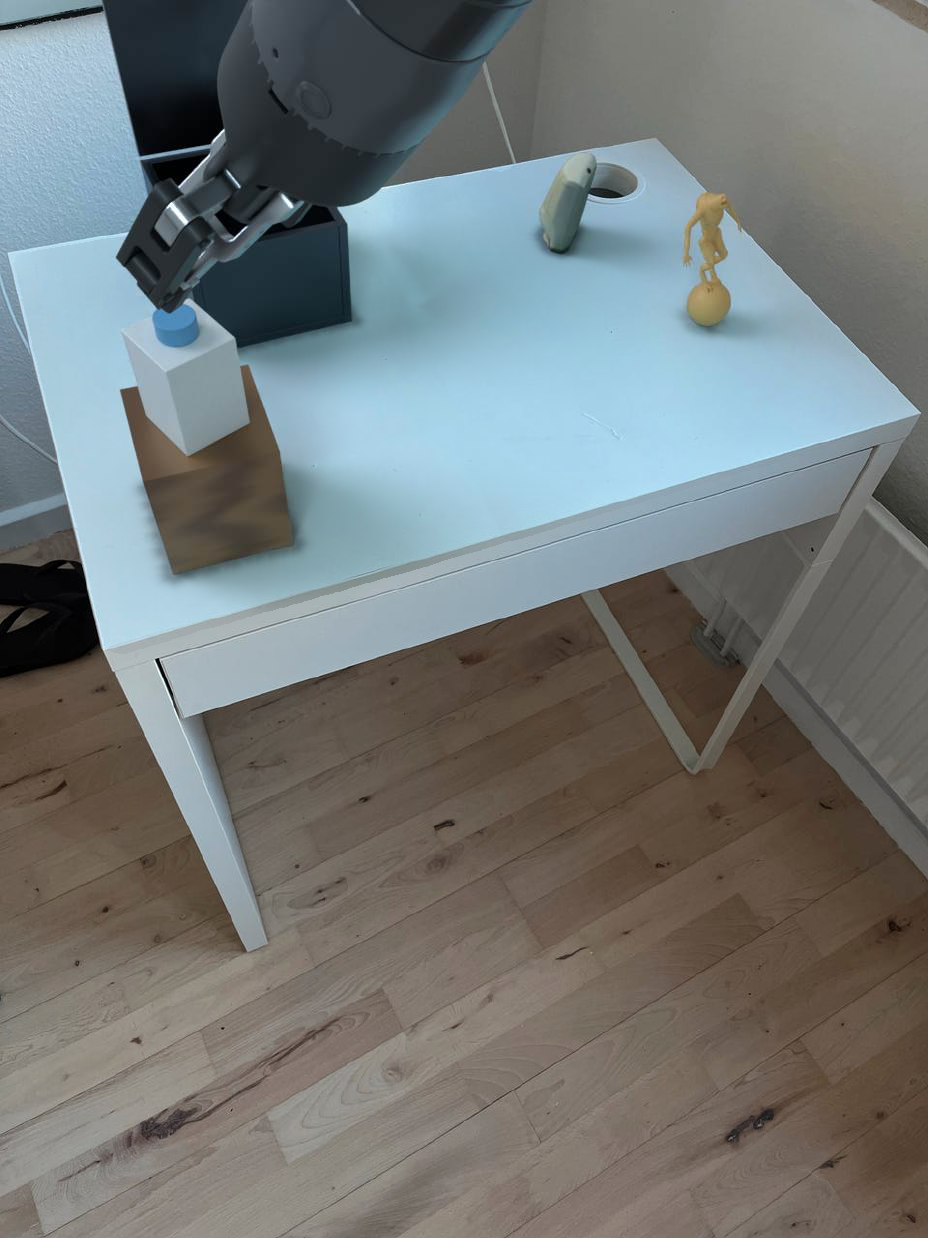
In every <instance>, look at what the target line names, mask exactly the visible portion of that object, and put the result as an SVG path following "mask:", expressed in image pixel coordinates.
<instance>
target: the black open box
mask: <svg viewBox="0 0 928 1238" xmlns="http://www.w3.org/2000/svg"><path fill="white" fill-rule="evenodd" d="M209 153H210V147H208V148H203V149H196V150H191V151H186V152H179V153H174V154H167V155H163V156H156V157H151V158H145V159H140V160H139V163H140V168H141V172H142V175H143V180H144V185H145V189H146V193H147V196H148V195H149V194H150V192H151V191H152V188H153V186H154V185H155V184H157V183H158V182H160V181H162V182H163V181H164V180H166V179H169V178H171V179H172V180H173V181H174V182H175V184H176V185H177V186H178V187H179V186H180V185H181V184H182V182H183V181H184V180H185V179H186V178H187V177H188V176H189V175H190V174H191V173H192V172H193V171H194V170H195V169H196V168H197V167H198V166H199V165H200V163H201V162H202V161H203V160H204V159H205V158H206V157H207V156H208V155H209ZM223 209H224V208H222V209H221V210H219V211H218V212H217V213H216V214H215V216H216V218H217V219H218V220H219V221H220V222H221V224H222V225H223V226H224V227H225V229H226V230H227V231H228V232H229V233H230V234H231V235H232V236H234V237H235V236H237V235H238V234H239V233H240V232H241V231H242V230H243V229H244V228H245V227H246V226H247V225H248V224H244V223H241V222H239V221H237V220H236V219H234V218H233V217H231V216H230V215H229V214H227V213H226V212H225V211H224V210H223ZM348 226H349V225H348V223H347V221H346V219H345V218H344V216H343V214H342V213H341V212H340V210H339V207H324V206H318V205H312V206H311V208H310V209H309V210H308V211H307V213H306V214H305V215H304V216H303V218H302V219H301V220H300V221H299V222H298V223H296V224H295V225H294V226H292V227H291V228H287V227H285V226H284V225H283V224H282V223H281V222H280V223H276V224H273V225H272V226H271V227H270V228H269V229H268V230H267V231H266V232H265V233H264V234H263V235H262V236H260V237H259V238H258V239H257V240H256V241H255V242H254V243H253V244H252V245H251V246H250V247H249V248H248V249H247V250H246V251H245V252H244V253H243V254H242V255H241V256H240V257H238V258H236V259H233V260H230V261H227V262H220V261H217V262H216V263H215V264H214V265H213V266H212V267H211V268H210V269H209V270H208V271H207V272H206V273H205V274H204V275H203V276H202V277H201V278H200V279H199V280H200V282H199V283H198V284H197V285H196V286H194V288H193V289H192V291H191V292H190V294H189V295H188V297H187V298H186V299H189V298H190V299H191V300H192V301H194V302H195V303H196V304H197V305H198V306H199V307H200V308H202V309H203V310H204V311H205V312H206V313H207V314H208V315H210V316H211V317H212V318H213V319H214V320H215V321H216V322H217V323H219V324H220V325H221V326H222V327H223V328H224V329H225V330H227V331H228V332H229V333H230V334H231V335H232V336H233V337H235V340H236V345H237V349H240V348H244V347H248V346H249V347H250V346H253V345H257V344H261V343H265V342H269V341H274V340H278V339H282V338H286V337H290V336H295V335H299V334H304V333H307V332H312V331H316V330H319V329H320V330H321V329H324V328H328V327H333V326H337V325H340V324H345V323H350V322H352V321H353V315H352V293H351V291H352V290H351V271H350V250H349V227H348ZM203 252H204V251H203Z"/></svg>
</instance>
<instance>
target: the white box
mask: <svg viewBox="0 0 928 1238" xmlns="http://www.w3.org/2000/svg"><path fill="white" fill-rule="evenodd" d="M120 332H121V335H122V338H123V341H124V345H125V348H126V352H127V355H128V359H129V362H130V365H131V369H132V372H133V376H134V379H135V383H136V386H138V389H139V393H140V396H141V399H142V403H143V406H144V410H145V413H146V416H147V417H148V418H149V419H150V420H151V421H152V422H153V423H154V424H155V425H156V426H157V427H158V428H159V429H160V430H161V431H162V432H163V433H164V434H165V435H166V436H167V437H168V438H169V439H170V440H171V441H172V442H173V443H174V444H175V445H176V446H177V447H178V448H179V449H180V450H181V451H182V452H183V453H184V454H185V455H187V456H190V455H192V454H194V453H196V452H198V451H199V450H201V449H203V448H205V447H207V446H209V445H210V444H212V443H214V442H216V441H218V440H220V439H221V438H223V437H225V436H227V435H229V434H231V433H232V432H234V431H236V430H238V429H240V428H242V427H243V426H245V425H247V424H249V423H250V420H249V415H248V409H247V403H246V397H245V392H244V386H243V380H242V374H241V368H240V366H241V363H240V358H239V351H238V348H237V345H236V340H235V337H233V336H232V335H231V334H230V333H229V332H228V331H227V330H225V329H224V328H223V327H222V326H221V325H220V324H219V323H217V322H216V321H215V320H214V319H213V318H212V317H211V316H210V315H208V314H207V313H206V312H205V311H204V310H203V309H202V308H200V307H199V306H198V305H197V304H196V303H195V302H194V301H192V300H191V299H190V298H189V299H186V300H185V301H184V303H183V304H182V306H181V307H179V308H178V309H176V310H175V311H174V312H172V313H170V314H169V313H167V312H165V311H164V310H163V309H162V308H161V309H160V310H158V309H157V308H156V309H155V310H154V311H153V314H151V315H150V316H148V317H145V318H143V319H141V320H139V321H137V322H135V323H132V324H130V325H128V326H126V327H124V328H121V329H120Z"/></svg>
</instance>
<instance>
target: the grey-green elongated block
mask: <svg viewBox="0 0 928 1238" xmlns="http://www.w3.org/2000/svg"><path fill="white" fill-rule="evenodd" d="M597 165H598V164H597V158H596V156H595V155H594V154H593V153H591V152H587V151H582V152H578V153H576V154H574V155H573V156H571V157H570V158H569V159H567V160H566V161H565V162H564V164H563V165H562V166H561V168H560V169H559V171H558V172H557V174H556V176H555V178H554V179H553V181H552V183H551V185H550V187H549V189H548V191H547V193H546V195H545V198H544V200H543V202H542V203H541V205H540V207H539V212H538V216H539V223H540V226H541V227H542V229H543V230H544V232H543V234H542V239H543V240H544V242H545V243H546V245H547V249H548V250H549V251H550V252H553V253H556V254H561V255H563V254H565V253H567V252H568V251H569V250H570V248H571V245H572V243H573V241H574V239H575V236H576V234H577V232H578V229H579V226H580V223H581V220H582V217H583V213H584V211H585V208H586V205H587V201H588V198H589V194H590V192H591V188H592V185H593V181H594V179H595V174H596V171H597Z"/></svg>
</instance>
